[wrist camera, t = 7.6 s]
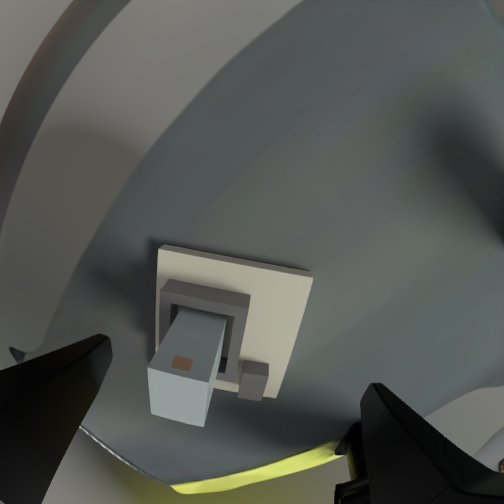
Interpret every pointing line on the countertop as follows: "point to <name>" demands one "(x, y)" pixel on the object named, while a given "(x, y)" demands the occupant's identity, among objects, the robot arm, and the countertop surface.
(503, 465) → the book
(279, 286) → the board
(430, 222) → the countertop surface
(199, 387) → the plug
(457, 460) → the robot arm
